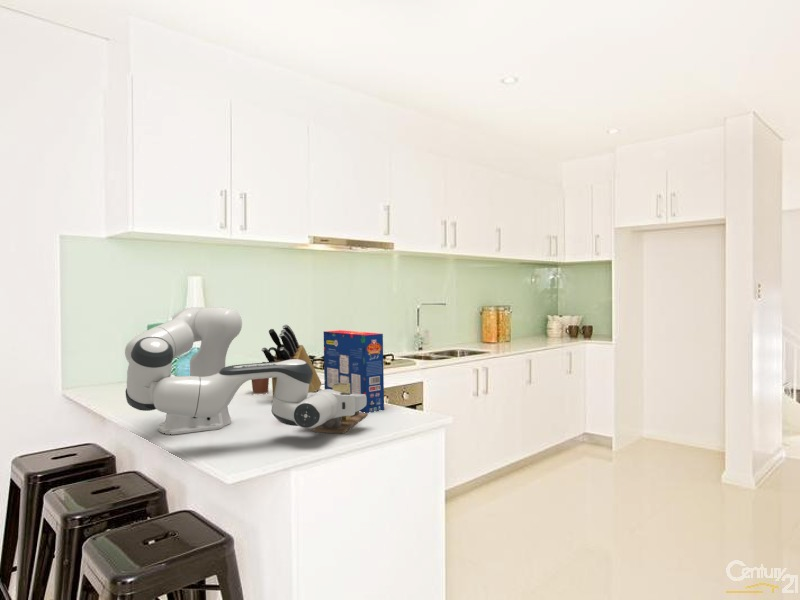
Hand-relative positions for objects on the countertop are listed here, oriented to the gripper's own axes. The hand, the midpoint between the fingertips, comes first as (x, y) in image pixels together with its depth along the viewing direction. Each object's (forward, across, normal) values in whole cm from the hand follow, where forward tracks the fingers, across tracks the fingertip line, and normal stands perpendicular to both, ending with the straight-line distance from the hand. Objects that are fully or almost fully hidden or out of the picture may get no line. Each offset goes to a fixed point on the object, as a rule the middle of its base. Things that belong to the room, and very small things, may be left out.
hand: (342, 395), depth 179 cm
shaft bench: (-1, 0, -9) cm, 9 cm away
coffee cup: (+44, -54, -9) cm, 70 cm away
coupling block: (-1, 0, -8) cm, 8 cm away
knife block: (+39, -36, -9) cm, 54 cm away
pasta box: (+26, -6, -9) cm, 28 cm away
